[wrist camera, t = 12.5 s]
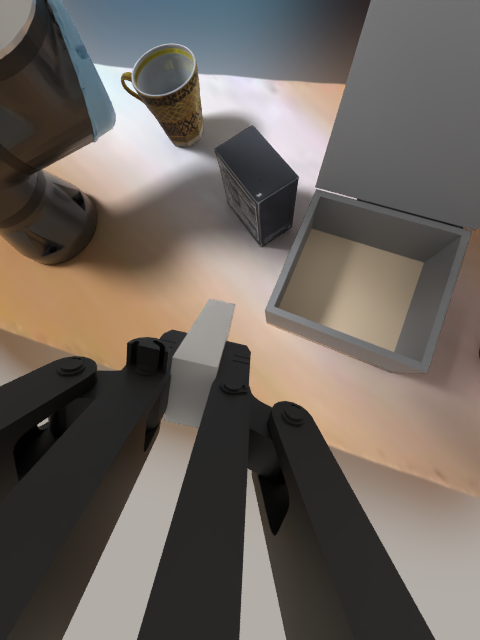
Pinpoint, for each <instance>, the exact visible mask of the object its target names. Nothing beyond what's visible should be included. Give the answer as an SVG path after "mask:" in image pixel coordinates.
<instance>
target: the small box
mask: <svg viewBox="0 0 480 640" xmlns="http://www.w3.org/2000/svg"><path fill="white" fill-rule="evenodd" d="M215 153H216V156H217V159H218V163H219V167H220V171H221V175H222V179H223V183H224V187H225V192H226V196H227V201H228V204H229V205H230V206H231V208H232V209H233V210H234V212H235V213H236V215H237V216H238V217H239V219H240V220H241V221H242V223H243V224H244V225H245V227H246V228H247V229H248V231H249V232H250V233H251V235H252V236H253V237H254V239H255V240H256V241H257V243H258V244H259V245H260V246H261V247H262V246H264V245H266V244H267V243H268V242H270V241H271V240H273V239H274V238H276V237H277V236H279V235H280V234H282V233H284V232H286V231H287V230H288V229H290V228H291V227H292V222H293V214H294V207H295V200H296V193H297V185H298V179H299V176H298V175H297V174H296V173H295V172H294V171H293V170H292V169H291V167H290V166H289V165H288V164H287V163H286V162H285V161H284V160H283V159H282V157H281V156H280V155H279V154H278V153H277V152H276V151H275V150H274V149H273V147H272V146H271V145H270V144H269V143H268V142H267V141H266V139H265V138H264V137H263V136H262V135H261V134H260V133H259V131H258V130H257V129H256V128H255V127H254V126H253V125H252V126H250V127H248V128H247V129H245V130H244V131H242V132H240V133H239V134H237V135H236V136H234V137H232V138H231V139H229V140H228V141H226V142H225V143H223V144H221V145H220V146H218V147H216V148H215Z"/></svg>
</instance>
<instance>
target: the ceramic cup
mask: <svg viewBox="0 0 480 640" xmlns="http://www.w3.org/2000/svg"><path fill="white" fill-rule="evenodd" d="M124 80H128V81H131V82H132V84H133V86H134V88H135V90H136V91H137V93H138V94H136V93H135V92H133V91H132V90H130V89H129V88H128V87H127V86H126V84H125V82H124ZM121 83H122V85H123V87H124V89H125V90H126V91H127V92H128V93H129V94H131V95H132V96H134V97H135V98H137V99H139V100H140V101H142V102H143V103H144V104H145V105H146V106H147V108H148V109H149V110H150V111H151V113H152V114H153V115H154V116H155V118H156V119H157V120H158V122H159V124H160V125H161V127H162V128H163V130H164V131H165V133H166V134H167V136H168V137H169V139H170V140H171V141H172V143H173V144H174V145H175V146H182V147H189V146H191V145H192V144H194V143H195V142H197V141H198V140H200V139H201V136H202V132H203V117H202V108H201V100H200V88H199V78H198V70H197V64H196V59H195V56H194V55H193V53H192V52H191V51H190V50H189V49H188V48H187V47H185V46H182V45H179V44H164V45H160V46H158V47H155V48H153V49H151V50H149V51H148V52H146V53H145V54H144V55H143V56H142V57H140V59H139V60H138V61H137V62H136V64H135V66H134V68H133V71H132V73H130V72H126V73H124V74H123V75H122V77H121Z"/></svg>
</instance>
